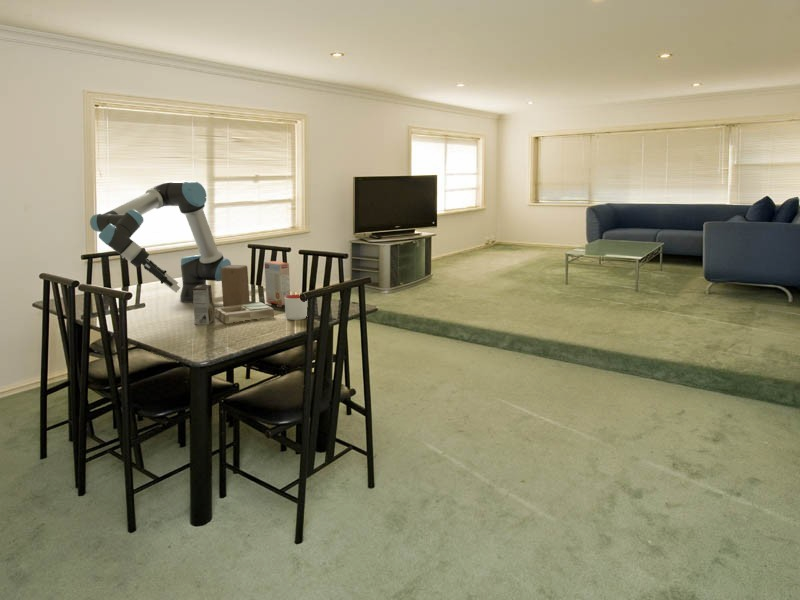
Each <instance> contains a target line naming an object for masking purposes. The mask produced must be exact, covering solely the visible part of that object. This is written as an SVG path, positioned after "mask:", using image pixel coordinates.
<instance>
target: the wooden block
mask: <svg viewBox="0 0 800 600" xmlns="http://www.w3.org/2000/svg"><path fill="white" fill-rule="evenodd" d="M248 269H249V267H248V265H246V264H245V265H244V264H240V265H239V264H231V265H229V266H225V267H222V268H221V280H222V281H221V290H222V291H221V292H222V305H223V306H222V307H226V306H234V305H242V304H250V302H251V301H250V286H249V272H248Z"/></svg>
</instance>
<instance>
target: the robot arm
mask: <svg viewBox="0 0 800 600" xmlns="http://www.w3.org/2000/svg"><path fill="white" fill-rule="evenodd" d="M206 202H207V191H206V189H205V188H204V186H203V185H202V184H201V183H200V182H198V181H194V180H193V181H192V180H178V181H177V180H176V181H175V180H173V181H172V180H171V181H170V180H169V181H166V182H162V183H160V184H157V185H155V186H153V187H151V188H149V189H147V190H146V191H145V193H144V194H142V195H140V196H138V197H136V198H133V199H131V200H129V201H127V202H125V203H124V204H121V205H119V206H117V207H116V208H115V207H114V209H111V210H109V211H107V212H105V213H97V214H93V215H92V216H91V218H90V220H89V225H90V227H91V229H92V230H93V231H95V232H97V233H99V234H98V238H99V239H100V240H101V241H102V242H103V244H105V245H107V246H108V247H109V248H111V249H112V250H114V252H116V253H118V254H119V255H120V256H121V258H122V259H125V260H127V261H128V262H130V264H131V265H133V266H134V267H135V268H139V267H140V266H141V265H142V266H143V269H144V270H146V271H147V272H149V273H150V274H152V275H153V276H154V277H155V278H157V279H158V280H159V281H160V284H164V285H165V286H167V287H168V288H169V289H171V291H173V292H175V293H178V291H179V290H180V289H181V291H180V294H179V295H180V299H179V300H180V301H181V302H184V301H187V302H186V303H193V292H192V289H193V288H194V287H195V286H196V285H207V281H211V282H212V281H214V282H215V281H216V282H222V280H221V268H222V267H225V266H229V265H232V263H231V261H230V259H228V258H224V255H223V252H221V251H219V249H218V247H217V245H216V241H215V239H214V235H213V234H212V230H211V227H210V224H209V222H208V220H207V217H206V215H205V211H204V208H205V206H206V205H205V204H206ZM163 207H178V208H179V211H180V213H181V214H183V215H185V217H186V220H187V223H188V225H189V227H190V230H191V233H192V236H193V238H194V241H195V244H196V247H197V249H198V251H199V254H195V255H188V256H184V257H182V258H180V271H181V272H180V273H181V279H182V280H181V281H182V287H180V285H178V284H179V282H178V281H177V280H176V279H174V277H172V276H171V275H169V274H168V273H167V272H168V271H167V270H166V269H165V270H164V269H162V268H161V267H159V266H158V265H157V264H156V263H155V262H153V261H152V260H150V259H149V256H150V254H149V252H147V250H145V249H144V248H141V246H140V245H139V244H138V243H136V242H135V240H132V239H131V237H132V236H133V235H134V234H135V232H136V231H138V230H139V229H140V228H141V226H142V224H143V223H144V217H143V215H144V214H146V213H148V212H150V211H152V210H154V209H157V210H158V209H161V208H163Z"/></svg>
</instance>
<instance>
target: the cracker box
mask: <svg viewBox="0 0 800 600" xmlns="http://www.w3.org/2000/svg"><path fill="white" fill-rule="evenodd" d="M264 281H265V298H266V301H265V302H267V303H271V304H273V305H279V306H285V296H288V295H291V283H290V263H289V262H282V261H276V260H271V261H264Z"/></svg>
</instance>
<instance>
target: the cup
mask: <svg viewBox="0 0 800 600" xmlns="http://www.w3.org/2000/svg"><path fill="white" fill-rule="evenodd" d="M299 294H300V293H299ZM299 294H290V295H288V296H285V305H284V314H285V315H284V316H285V318H286V319H287V320H289V321H300V320H301V321H302V320H304V319H306V316H307V307H308V300H307V301H305V302H302V301H301V300H300V296H299ZM307 317H308V316H307Z"/></svg>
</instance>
